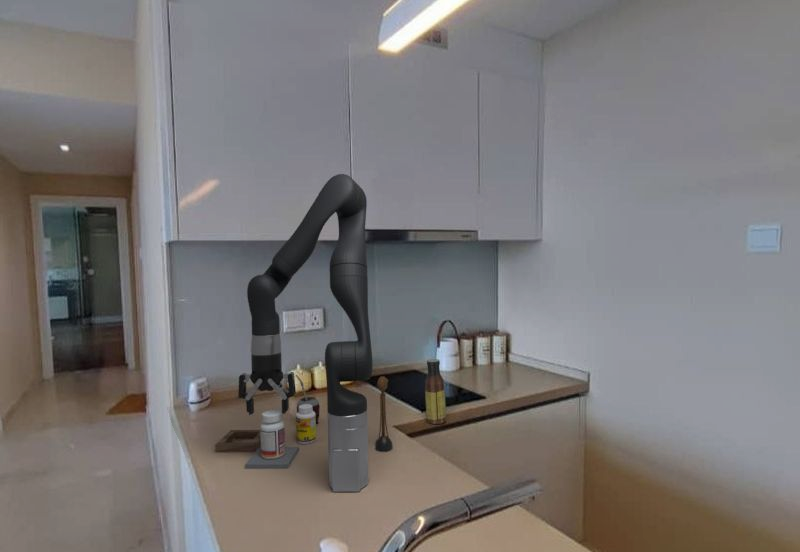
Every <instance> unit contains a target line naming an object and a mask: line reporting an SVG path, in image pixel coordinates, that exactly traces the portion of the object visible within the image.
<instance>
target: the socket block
mask: <svg viewBox="0 0 800 552" xmlns="http://www.w3.org/2000/svg"><path fill="white" fill-rule="evenodd" d="M249 439H250V440H251V439H252V440H251V441H248V442H243V441H242V442H241V441H239V442H238V441H237V442H235V441H234V440H249ZM259 447H261V436H260V429H231V430H229V431H228V432H227V433H226V434H225V435H224V436H223V437H222V438H220V439H219V441H218V442H216V443H215V445H214V449H215V450H214V451H215V453H255V452H256V450H257V449H258V448H259Z"/></svg>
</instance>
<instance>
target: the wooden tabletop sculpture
mask: <svg viewBox="0 0 800 552" xmlns="http://www.w3.org/2000/svg"><path fill="white" fill-rule="evenodd" d="M388 384H389V379H388V378H386V377H385V376H380V377H379V378H378V379H377V384H376V386H377V388H378V390H379V391H380V394H379V404H380V405H379V406H380V407H379V408H380V412H379V413H380V419H379V432H378V438H377V439H376V441H375V444H374V449H375V451H377V452H380V453H387V452H390V451H392V450H393V448H394V446H393V442H392V440H391V438H390V437H389V433H388V426H387V414H386V413H387V411H386V410H387V409H386V395H387V394H386V393H385V391H386V390H387V389H388Z"/></svg>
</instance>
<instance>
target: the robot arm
mask: <svg viewBox="0 0 800 552" xmlns="http://www.w3.org/2000/svg"><path fill="white" fill-rule="evenodd" d="M367 201H368V200H367V195H366V193H365V191H364V190H363V188H361V186H360V185H359V184H358V183H357V182H356V181H355V180H354V179H353V178H352V177H351V176H349V175H348V174H345V173H339V174H336V175H335V174H334V175H333V176H332V177H330V178H329V179H328V180H327V181H326V182H325V184H324V185H323V187H322V188H321V189H320V191H319V192H318V195H317V196H316V198H315V199H314V202H313V203H312V204H311V206H310V207H309V209H308V211H307V213H306V214H305V216H304V217H303V219H302V220H301V222H300V224H299V225H298V226H297V228H296V229H295V230H294V232H293V233H292V234H291V236H290V237H289V238H288V239H287V241H285V243H284V244H283V245H282V246H281V247H280V249H279V250H278V251H277V253H275V255H274V256H273V257H272V259H271V264H270V265H269V267H268V268H267V269H266V271H265V272H264V273H263V274H258V275H255V276H254V277H252V278H251V279H250V281H249V282H248V284H247V288H246V289H247V290H246V295H247V296H246V297H247V303H248V308H249V312H250V316H251V342H250V357H251V362H250V363H251V374H246V373H245V372H243V373H241V374H240V375H239V376H238V392H237V393H238V394H237V396H238V398H239V399H244V400H245V406H246V413H248V415H249V416H250V415H253V414H254V413H255V401H254V400H255V399H254V395H256V393H257V392H258V391H259V392H265V391H268V392H273V391H275V392H276V393H277V394H278V395H279V396H280V398H282V399H281V412H282V415H283V414H285V415H286V413H287V412H288V411H289V408H290V403H289V401H290V400H289V399H290V398H293V397H294V396H296V395H295V394H296V393H297V392H296V380H295V379H296V376H295V372H293V371H291V372H287V373H284V372H283V371H282V370H283V369H282V339H281V334H280V333H281V332H280V331H281V329H280V328H281V326H280V325H281V324H280V315H279V313H278V312H277V309H276V298H278V297H279V296H280V295H281V294H282V292H283V291H284V290H285V289H286V288H287V286H288V285H289V283H290V281H291V280H292V278H293V277H294V276H295V274H296V273H297V272H298V271H299V270H300V269H301V268H302V267H303V266H304V265H305V263H306V262H307V261H309V259H310V257H311V256H312V254H313V252H314V250H315V248H316V247H317V244H318V240H319V238H320V235H321V233H322V230H323V229H324V226H325V225H326V223H327V222H328V221H329V219H330V218H331V217H332V216H333V215H334V214H335V213H336V215H337V222H338V239H337V243H336V245H335V247H334V249H333V251H332V254H331V256H330V260H329V288H330V291H331V293H332V295H333V297H334V298H335V300H336V301H337V303H338V304H339V305H340V307H341V308H342V310H343V311H344V312H345V314H346V315H347V317H348V319H349V321H350V322H351V324H352V326H353V328H354V332H355V335H356V337H357V340H347V341H345V340H344V341H331V342H329V343H328V344H327V345H326V347H325V350H324V351H325V352H324V365H325V366H324V368H325V377H326V398H327V400H326V401H327V403H326V405H327V410H326V412H327V448H328V449H327V452H328V484H329V485H328V486H329V487H330V488H332V492H337V493H340V492H349V493H350V492H354V493H356V492H361V489H363V488H365V487H366V486H367V485H368V483H369V481H370V479H369V478H370V477H369V476H370V475H369V443H368V442H369V441H368V439H369V438H368V400H367V398H366V396H365V395H364V394H362V393H361V392H360V393H359V392H356V391H353V390H350V389H348V388H346V387H345V386H343V385H342V384H341V383H343V382H360V381H362V382H364V381H369V380H370V379H371V376H372V373H373V365H374V364H373V351H372V344H371V343H372V342H371V341H372V340H371V339H372V338H371V331H370V320H369V293H368V291H369V290H368V289H369V286H368V285H369V283H368V282H369V281H368V280H369V279H368V263H367V246H366V222H367V221H366V219H367V205H368V204H367ZM283 379H284V380H285V382H286V383H288V384H287V386H288V391H287V390H286V388H285V386H284V385H283V383H282V381H283ZM249 380H250V381H251V382H252V384H253V386H252V387H251V389H250V390H249V392H247V383H248V382H249Z"/></svg>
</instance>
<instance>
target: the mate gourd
mask: <svg viewBox="0 0 800 552" xmlns="http://www.w3.org/2000/svg"><path fill="white" fill-rule="evenodd" d="M294 377H295V378H297V380H298V382H300V386H301V390H302V392H303V396H304V397H302V398H300V399H299V400H298V402H297V406H296V414H297V413H298V412H299V411H298V410H299V406H300V405H303V404H310V405H312V408H313V411H314V412H315V415H316V425H319V418H320V402H319V400H318V399H317V398H316V397H314V396H307V395H306V390H305V387H304V386H305V385H304V383H303V381H302V380H301V378H300V377H299V376H298V375H297V374H294Z"/></svg>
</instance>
